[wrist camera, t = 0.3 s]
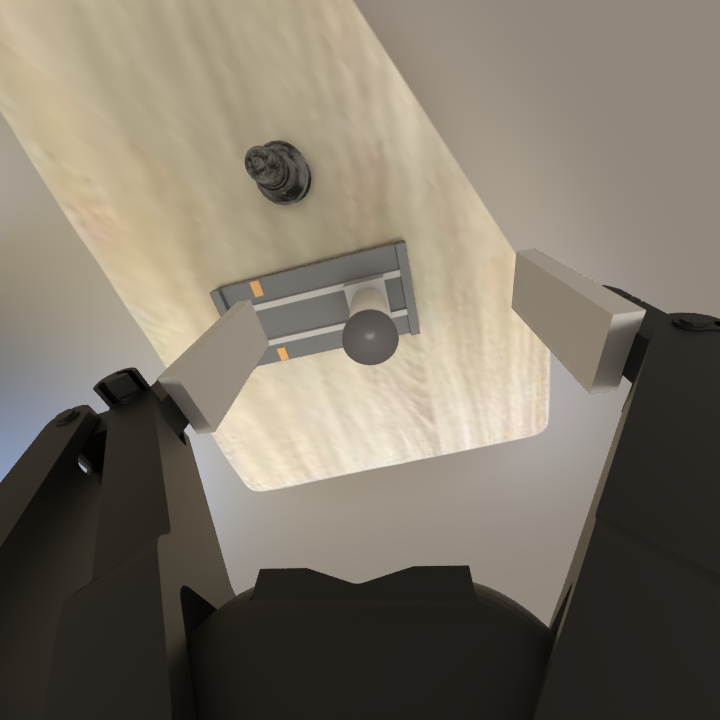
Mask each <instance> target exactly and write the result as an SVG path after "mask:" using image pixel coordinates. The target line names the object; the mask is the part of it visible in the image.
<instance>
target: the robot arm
mask: <svg viewBox="0 0 720 720" xmlns="http://www.w3.org/2000/svg"><path fill="white" fill-rule="evenodd" d="M512 309H513V310H514V311H515V312H516V313H517V314H518V315H519V316H520V318H521V319H522V320H523V321H524V322H525V323H526V324H527V325H528V326H529V328H530V329H531V330H532V331H533V332H534V333H535V334H536V335H537V336H538V337H539V339H540V340H541V341H542V342H543V343H544V344H545V345H546V346H547V347H548V349H549V350H550V351H551V352H552V353H553V354H554V355H555V356H556V357H557V358H558V360H559V361H560V362H561V363H562V364H563V365H564V366H565V367H566V368H567V370H568V371H569V372H570V373H571V374H572V375H573V376H574V377H575V379H577V381H578V382H579V383H580V384H581V385H582V386H583V387H584V388H585V390H586V391H587V392H588V393H589V394H594V393H605V392H614V391H617V390H618V387H619V384H620V381H621V378H622V376H624V377H626V378H627V379H628V380H629V381H630V382H631V383H632V386H631V389H630V391H629V394H628V396H627V399H626V401H625V404H624V406H623V409H622V414H621V418H620V420H619V423H618V427H617V429H616V432H615V435H614V438H613V441H612V444H611V447H610V450H609V453H608V456H607V459H606V462H605V465H604V468H603V471H602V474H601V477H600V480H599V483H598V486H597V489H596V492H595V495H594V498H593V501H592V504H591V506H590V510H589V512H588V515H587V518H586V521H585V524H584V527H583V530H582V533H581V536H580V539H579V542H578V545H577V548H576V551H575V554H574V557H573V560H572V563H571V566H570V569H569V572H568V575H567V578H566V580H565V584H564V586H563V589H562V592H561V595H560V597H559V600H558V602H557V605H556V608H555V610H554V613H553V616H552V619H551V622H550V625H549V627H547V626H546V625H545V624H544V623H542V622H541V621H540V620H539V619H538V618H537V617H536V616H534V615H533V614H532V613H531V612H529V611H528V610H527V609H525V608H524V607H523V606H521V605H520V604H518V603H517V602H515V601H514V600H512V599H510V598H509V597H507V596H505V595H503V594H501V593H500V592H498V591H495V590H493V589H491V588H489V587H486V586H484V585H480V584H477V583H474V582H472V577H471V573H470V568H469V566H413V567H410V568H407V569H404V570H401V571H398V572H395V573H392V574H389V575H385V576H383V577H380V578H377V579H373V580H370V581H368V582H364V583H361V584H353V583H350V582H347V581H344V580H341V579H338V578H335V577H332V576H329V575H326V574H323V573H320V572H317V571H314V570H311V569H308V568H295V569H294V568H292V569H291V568H288V569H260V571H259V574H258V578H257V581H256V584H255V587H253V588H250V589H249V590H246V591H245V592H242V593H240V594H239V595H237V596H236V595H235V593H234V591H233V589H232V587H231V584H230V581H229V577H228V574H227V570H226V567H225V563H224V559H223V556H222V553H221V549H220V545H219V542H218V538H217V535H216V531H215V528H214V524H213V521H212V517H211V514H210V510H209V507H208V503H207V500H206V496H205V493H204V490H203V486H202V482H201V479H200V475H199V471H198V468H197V464H196V461H195V458H194V454H193V450H192V447H191V443H190V440H189V437H188V436H187V434H186V433H185V432H184V429H185V428H186V427H187V425H188V424H189V423H190V425H191V426H192V428H193V429H194V430H195V432H196V433H197V434H201V433H211V432H215V431H216V429H217V428H218V426H219V425H220V423H221V421H222V420H223V418H224V416H225V415H226V413H227V412H228V410H229V408H230V407H231V405H232V404H233V402H234V400H235V399H236V397H237V396H238V394H239V392H240V391H241V389H242V388H243V386H244V384H245V383H246V381H247V379H248V378H249V376H250V375H251V373H252V371H253V370H254V368H255V367H256V365H257V363H258V362H259V360H260V359H261V357H262V355H263V354H264V352H265V351H266V349H267V347H268V346H269V342H268V340H267V337H266V335H265V333H264V330H263V328H262V326H261V323H260V321H259V319H258V316H257V314H256V312H255V309H254V307H253V305H252V303H251V300H245V301H240V302H236V303H235V304H234V305H233V306H232V307H231V308H230V309H229V310H228V311H227V312H226V313H225V314H224V315H223V316H222V317H221V318H220V319H219V320H218V321H217V322H215V323H214V324H213V325H212V326H211V327H210V328H209V329H208V330H207V331H206V332H205V333H204V334H203V335H202V336H201V337H200V338H199V339H198V340H197V341H196V342H195V343H194V344H192V345H191V346H190V347H189V348H188V349H187V350H186V351H185V352H184V353H183V354H182V355H181V356H180V357H179V358H178V359H177V360H176V361H175V362H174V363H173V364H172V365H170V366H169V367H168V368H167V369H166V370H165V371H164V372H163V373H162V374H161V375H160V376H159V377H158V378H157V381H156V382H155V383H154V384H153V385H152V386H151V387H150V386H149V384H148V383H147V382H146V381H145V379H144V378H143V377H142V375H141V374H140V373H139V371H138V370H137V369H136V368H127V369H123V370H120V371H117V372H115V373H113V374H111V375H109V376H107V377H105V378H104V379H102V380H101V381H99V382H98V383H97V384H96V385H95V387H94V388H93V389H94V391H95V392H96V393H97V394H98V395H99V396H100V397H101V398H102V399H103V401H104V402H105V403H106V404H107V405H108V406H109V407H110V409H109V411H106V412H103V413H100V414H97V413H95V411H94V410H93V409H92V408H91V407H90V406H89V405H81V406H77V407H75V408H72V409H67V410H65V411H64V412H62V413H60V414H58V415H57V416H56V417H55V418H54V419H53V420H52V421H50V422H49V423H48V424H47V425H46V426H45V427H44V429H43V430H42V431H41V432H40V434H39V435H38V436H37V437H36V439H35V440H34V441H33V442H32V444H31V445H30V446H29V447H28V449H27V450H26V451H25V452H24V454H23V455H22V456H21V458H20V459H19V460H18V461H17V463H16V464H15V465H14V466H13V468H12V469H11V470H10V472H9V473H8V474H7V475H6V476H5V478H4V479H3V480H2V481H1V483H0V720H720V319H718V318H715V317H712V316H709V315H702V314H696V313H670V314H666V313H665V312H663V311H661V310H659V309H657V308H655V307H653V306H651V305H649V304H647V303H645V302H644V301H643V302H641V300H640V299H638V298H636V297H634V296H633V297H632V295H630V294H628V293H627V292H624V291H623V290H621V289H617V288H614V287H610V286H606V285H600V284H598V283H596V282H594V281H593V280H591V279H589V278H587V277H585V276H583V275H582V274H580V273H578V272H576V271H574V270H573V269H571V268H569V267H567V266H565V265H563V264H562V263H560V262H558V261H556V260H555V259H553V258H551V257H549V256H547V255H545V254H544V253H542V252H540V251H538V250H536V249H530V250H523V251H519V252H516V263H515V274H514V286H513V297H512ZM78 462H79V463H80V464H81V465H82V466H84V467H85V468H86V469H87V472H86V473H85V472H84V471H83V470H82V469H81V467H80V466H79V463H78Z"/></svg>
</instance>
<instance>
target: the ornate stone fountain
mask: <svg viewBox="0 0 720 720" xmlns="http://www.w3.org/2000/svg"><path fill="white" fill-rule="evenodd" d="M245 166H246V169H247V172H248V173H249V175H250V176H251V178H253V179H254V180H255V181H256V183H257V185H258V188H259V189H260V191H261V192H262V193H263V195H264V196H265V197H266V198H268V199H269V200H270V201H272V202H274V203H276V204H281V205H289V204H292V203H294V202H298V201H300V200H301V199H303V198H304V197H305V196H306V194H307V193H308V191H309V188H310V184H311V175H310V170H309V168H308V165H307V164H306V162H305V159H304V158H303V156H302V155H301V153H300V152H299V151H298V150H297V149H296V148H295V147H294V146H292V145H291V144H289V143H287V142H283V141H271V142H269V143H267V144H265V145H264V146H255V147H252V148H251V149H250V150H249V151H248V152H247V154H246V157H245Z"/></svg>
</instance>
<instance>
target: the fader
mask: <svg viewBox="0 0 720 720" xmlns="http://www.w3.org/2000/svg"><path fill="white" fill-rule="evenodd" d="M343 288H344V292H345V295H346V299H347V303H348V307H349V310H350V316H349V319H348V321H347V322H346V324H345V326H344V329H343V334H342V344H343V348H344V350H345V352H346V353H347V355H348V356H349V357H350V358H351V359H353V360H354V361H356V362H358V363H361V364H364V365H376V364H380V363H382V362H384V361H386V360H387V359H389V358H390V357H391V356H392V355H393V354H394V352H395V351H396V348H397V346H398V341H399V337H398V332H397V328H396V325H395V323H394V321H393V320H392V317H391V312H390V307H389V302H388V297H387V292H386V287H385V282H384V278H383V275H379V276H375V277H371V278H367V279H363V280H359V281H355V282H351V283H347V284H344V286H343Z"/></svg>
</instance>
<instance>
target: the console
mask: <svg viewBox="0 0 720 720" xmlns="http://www.w3.org/2000/svg"><path fill="white" fill-rule="evenodd" d="M379 275H383V278H384V282H385V287H386V292H387V297H388V302H389V307H390V312H391V317H392V320H393V321H394V323H395V325H396V328H397V332H398V335H402V334H407V333H411V335H416V334H420V330H419V324H418V317H417V311H416V305H415V299H414V293H413V286H412V280H411V274H410V268H409V262H408V256H407V249H406V243H405V241H404V240H402V241H398V242H394V243H390V244H386V245H382V246H378V247H375V248H371V249H367V250H363V251H359V252H355V253H351V254H347V255H343V256H340V257H336V258H332V259H328V260H324V261H320V262H316V263H312V264H309V265H305V266H301V267H297V268H293V269H289V270H285V271H281V272H277V273H274V274H270V275H266V276H262V277H258V278H254V279H250V280H246V281H242V282H239V283H235V284H231V285H227V286H223V287H219V288H217V289H215V290H213V291H212V292H210V295H211V297H212V300H213V302H214V304H215V306H216V308H217V310H218V312H219V314H220V316H221V317H222V316H223V315H224V314H225V313H226V312H227V311H228V310H229V309H230V308H231V307H232V306H233V305H234V304H235V303H236V302H240V301H245V300H251V303H252V305H253V307H254V309H255V312H256V314H257V316H258V319H259V321H260V323H261V326H262V328H263V330H264V333H265V335H266V337H267V340H268V342H269V346H268V347H267V349H266V351H265V352H264V354H263V355H262V357H261V359H260V360H259V362H258V363H257V365H256V366H260V365H265V364H269V363H274V362H278V361H283V360H288V359H292V358H297V357H301V356H306V355H311V354H315V353H320V352H324V351H329V350H333V349H338V348H343V344H342V334H343V329H344V326H345V324H346V322H347V321H348V319H349V316H350V310H349V307H348V303H347V299H346V295H345V292H344V288H343V286H344V284H347V283H351V282H355V281H359V280H363V279H367V278H371V277H375V276H379ZM255 368H256V367H255ZM255 368H254V369H255Z"/></svg>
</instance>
